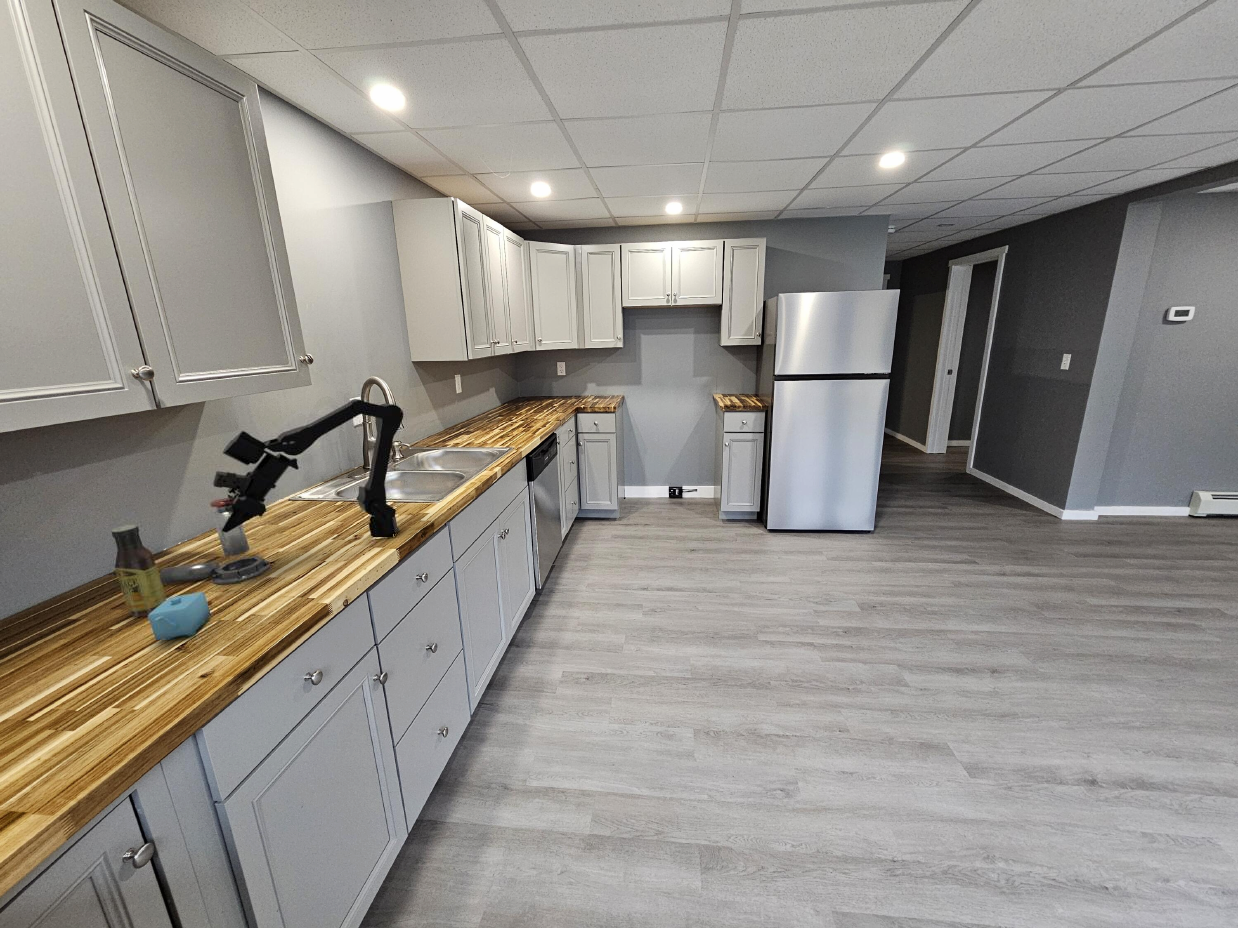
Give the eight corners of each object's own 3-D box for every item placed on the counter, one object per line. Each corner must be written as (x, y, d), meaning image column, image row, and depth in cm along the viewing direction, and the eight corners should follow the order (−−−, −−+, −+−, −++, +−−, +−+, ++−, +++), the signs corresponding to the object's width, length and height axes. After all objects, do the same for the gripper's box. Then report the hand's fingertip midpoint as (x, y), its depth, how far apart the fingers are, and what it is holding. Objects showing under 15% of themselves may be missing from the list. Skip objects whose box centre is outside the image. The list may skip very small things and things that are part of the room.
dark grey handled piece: (279, 560, 131) (275, 546, 130) (256, 580, 119) (252, 565, 118) (183, 572, 127) (179, 558, 126) (150, 594, 115) (145, 579, 114)
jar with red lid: (248, 546, 124) (234, 496, 120) (250, 551, 120) (236, 500, 117) (223, 552, 121) (208, 501, 117) (225, 558, 117) (209, 505, 113)
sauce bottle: (123, 616, 106) (93, 532, 101) (157, 602, 112) (130, 521, 107) (143, 620, 104) (113, 534, 99) (176, 604, 110) (149, 523, 105)
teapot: (184, 647, 93) (173, 612, 91) (146, 654, 92) (134, 619, 90) (215, 615, 104) (206, 583, 103) (182, 621, 103) (172, 589, 101)
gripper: (228, 453, 124) (184, 505, 120) (235, 463, 110) (186, 523, 106) (273, 475, 131) (233, 525, 127) (284, 487, 117) (240, 544, 113)
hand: (223, 529), depth 118 cm, fingers closed on jar with red lid, 5 cm apart
